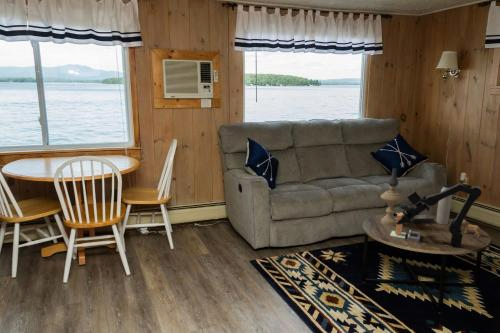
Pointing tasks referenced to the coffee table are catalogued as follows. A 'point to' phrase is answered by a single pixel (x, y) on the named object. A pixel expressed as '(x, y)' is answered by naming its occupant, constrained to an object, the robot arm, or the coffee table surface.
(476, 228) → the lion figurine
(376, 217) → the coffee table surface
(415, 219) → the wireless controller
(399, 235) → the mat
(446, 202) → the thermos bottle
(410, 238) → the dispenser
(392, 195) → the wooden candle holder
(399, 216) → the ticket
